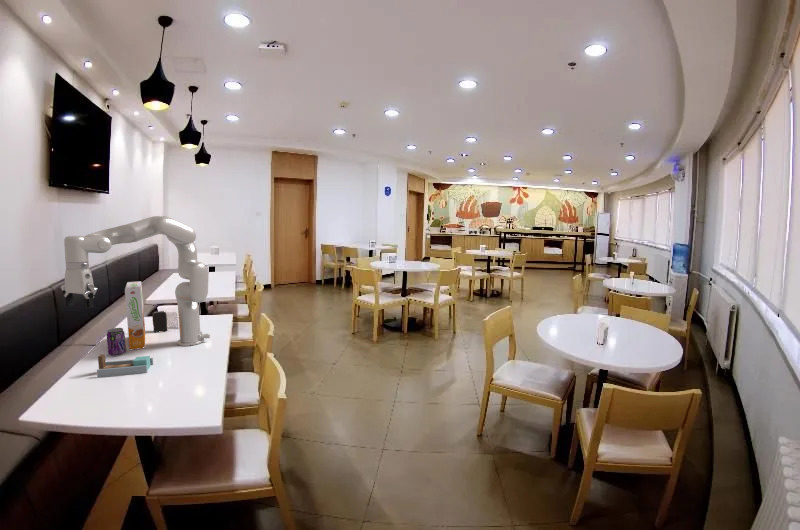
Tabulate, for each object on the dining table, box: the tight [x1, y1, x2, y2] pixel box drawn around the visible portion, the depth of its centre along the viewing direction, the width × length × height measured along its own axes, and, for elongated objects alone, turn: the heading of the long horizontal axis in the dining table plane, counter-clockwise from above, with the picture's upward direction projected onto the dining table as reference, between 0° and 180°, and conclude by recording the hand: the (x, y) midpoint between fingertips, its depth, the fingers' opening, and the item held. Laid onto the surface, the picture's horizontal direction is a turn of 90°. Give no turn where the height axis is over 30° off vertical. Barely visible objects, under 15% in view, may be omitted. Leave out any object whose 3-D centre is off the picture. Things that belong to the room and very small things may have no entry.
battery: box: [151, 310, 168, 333], centre depth 236 cm, size 7×4×11 cm, turn 119°
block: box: [132, 355, 152, 371], centre depth 181 cm, size 5×5×5 cm
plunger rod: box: [97, 353, 133, 369], centre depth 178 cm, size 12×3×7 cm, turn 106°
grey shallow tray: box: [96, 357, 154, 378], centre depth 180 cm, size 18×10×3 cm, turn 106°
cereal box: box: [124, 280, 146, 350], centre depth 215 cm, size 22×6×30 cm, turn 30°
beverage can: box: [106, 327, 127, 357], centre depth 199 cm, size 7×7×12 cm
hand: (79, 307), depth 175 cm, fingers open, 9 cm apart
